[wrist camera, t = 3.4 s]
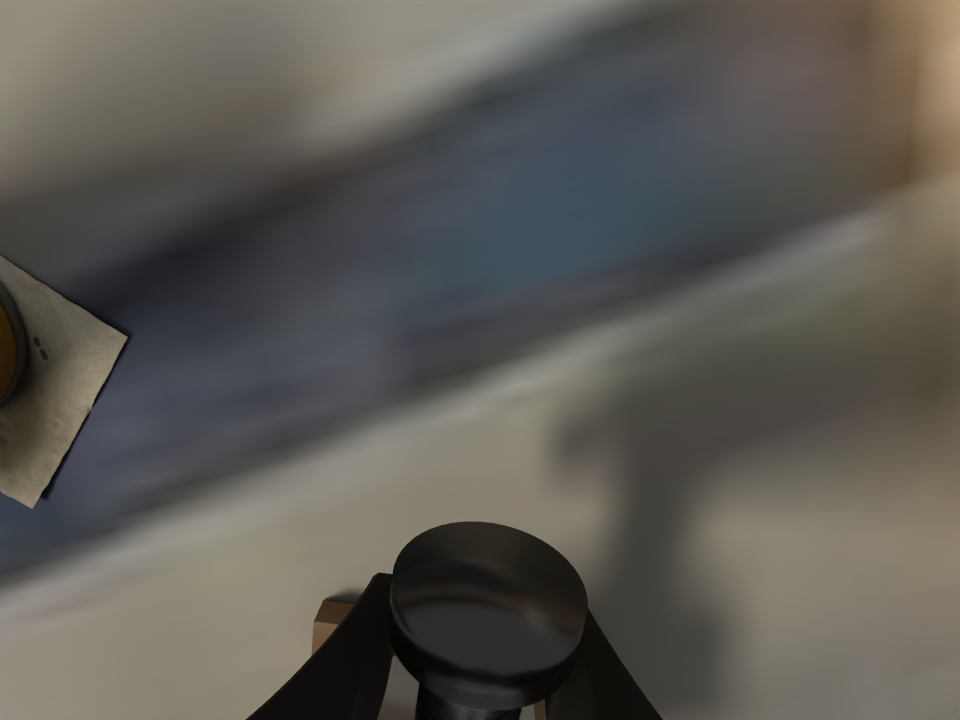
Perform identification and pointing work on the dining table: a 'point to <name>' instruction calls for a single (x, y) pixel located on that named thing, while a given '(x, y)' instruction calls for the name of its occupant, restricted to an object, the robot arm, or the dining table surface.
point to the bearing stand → (392, 671)
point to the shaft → (484, 620)
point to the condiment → (45, 378)
